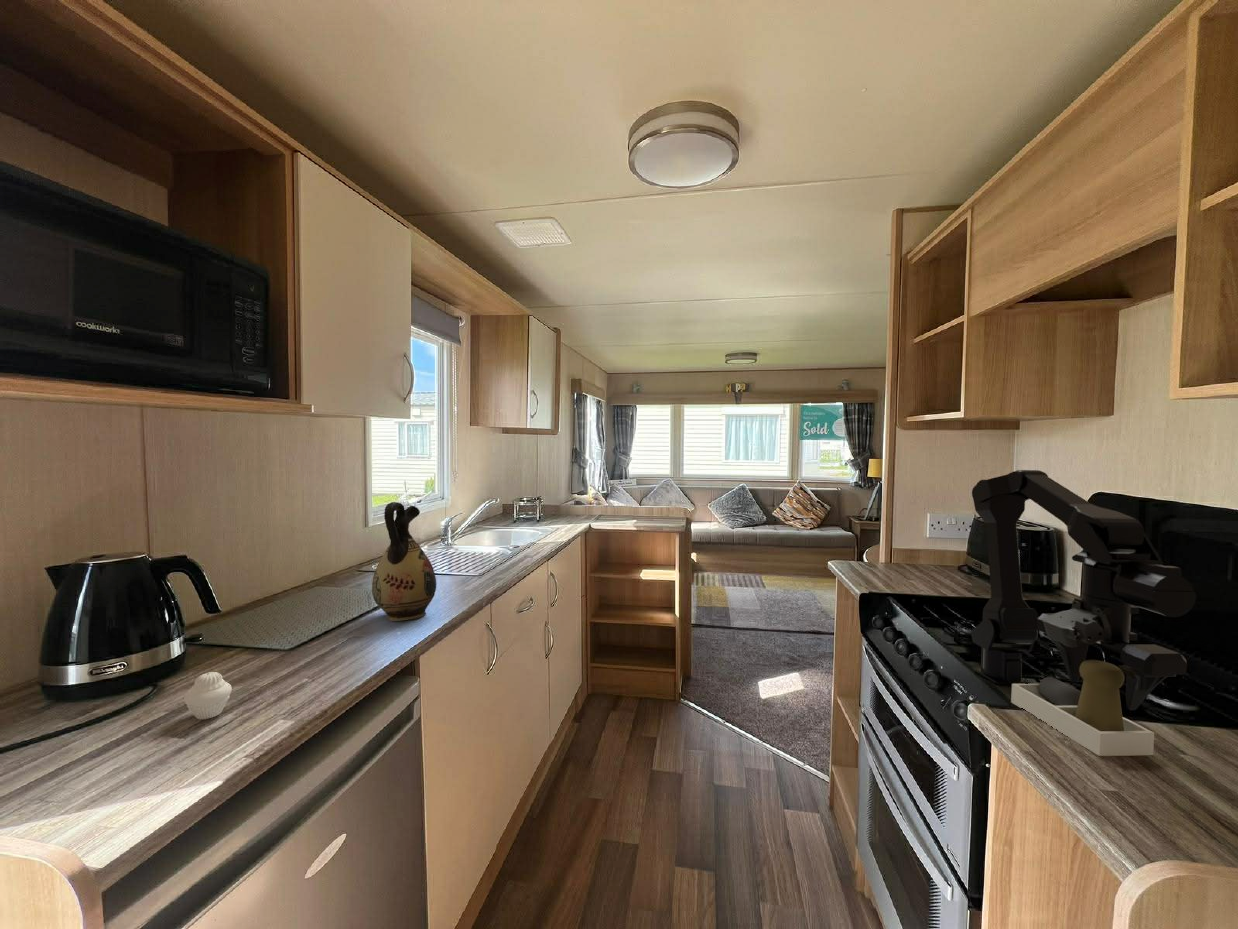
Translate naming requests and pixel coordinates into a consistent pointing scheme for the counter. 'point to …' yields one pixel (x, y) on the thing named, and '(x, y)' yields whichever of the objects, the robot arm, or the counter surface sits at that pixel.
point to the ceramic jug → (403, 569)
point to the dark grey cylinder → (1058, 692)
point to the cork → (1100, 696)
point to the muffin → (208, 695)
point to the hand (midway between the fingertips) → (1101, 694)
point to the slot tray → (1084, 725)
